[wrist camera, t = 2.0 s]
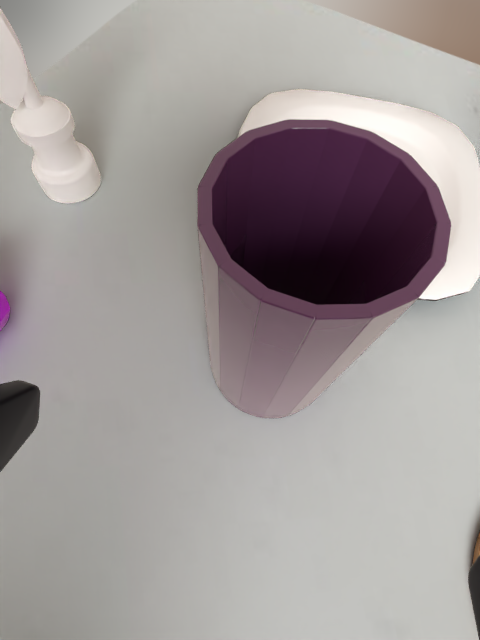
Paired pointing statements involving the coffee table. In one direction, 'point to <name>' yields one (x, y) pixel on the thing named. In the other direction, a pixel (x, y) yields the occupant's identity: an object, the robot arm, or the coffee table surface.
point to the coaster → (477, 549)
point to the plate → (420, 142)
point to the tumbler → (310, 256)
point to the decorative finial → (44, 128)
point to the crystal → (4, 310)
